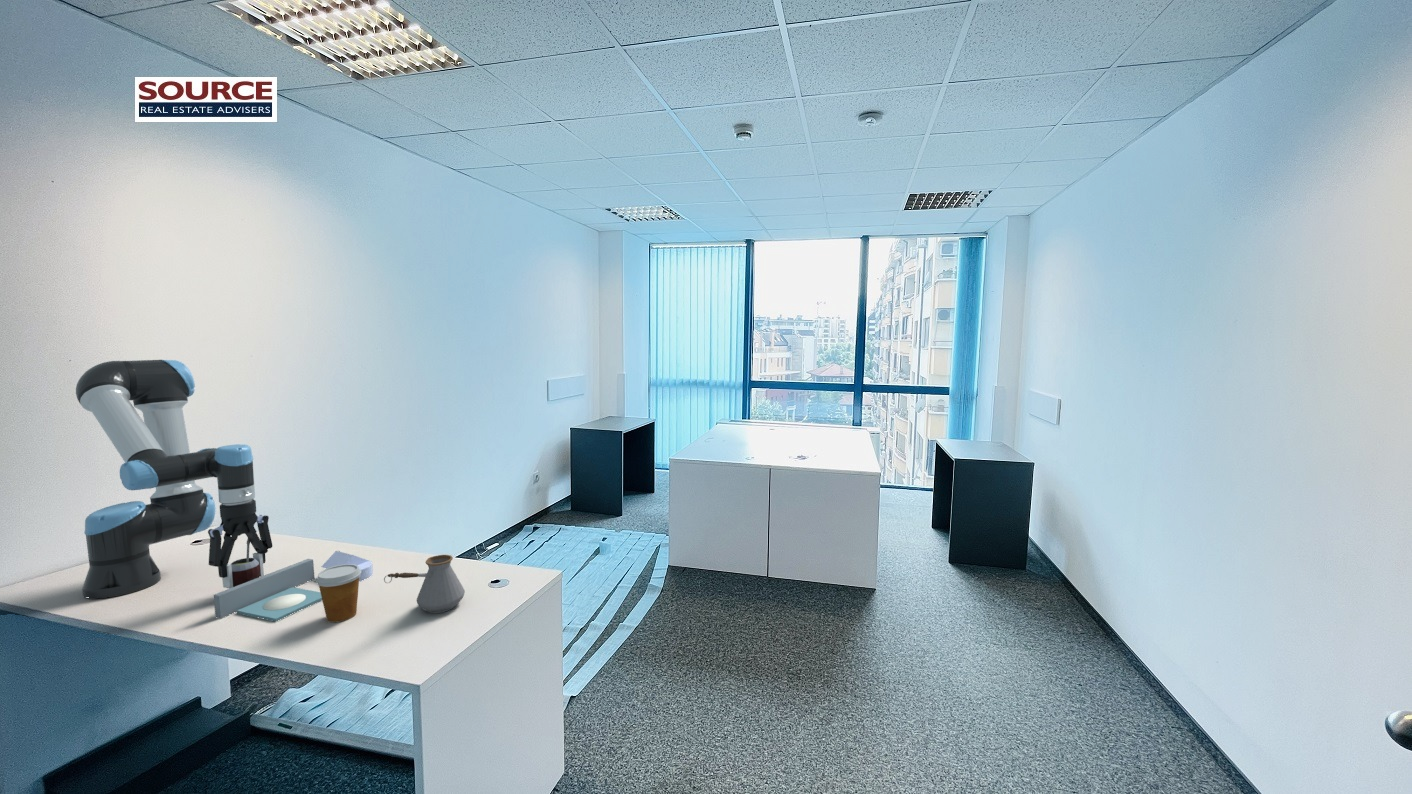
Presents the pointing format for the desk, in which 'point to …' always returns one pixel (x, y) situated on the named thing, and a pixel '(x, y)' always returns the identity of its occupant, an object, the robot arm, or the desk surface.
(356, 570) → the disposable coffee cup
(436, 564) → the coffee pot
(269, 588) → the low wall
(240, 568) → the mate gourd
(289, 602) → the mat
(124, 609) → the desk surface
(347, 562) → the wedge on round base
